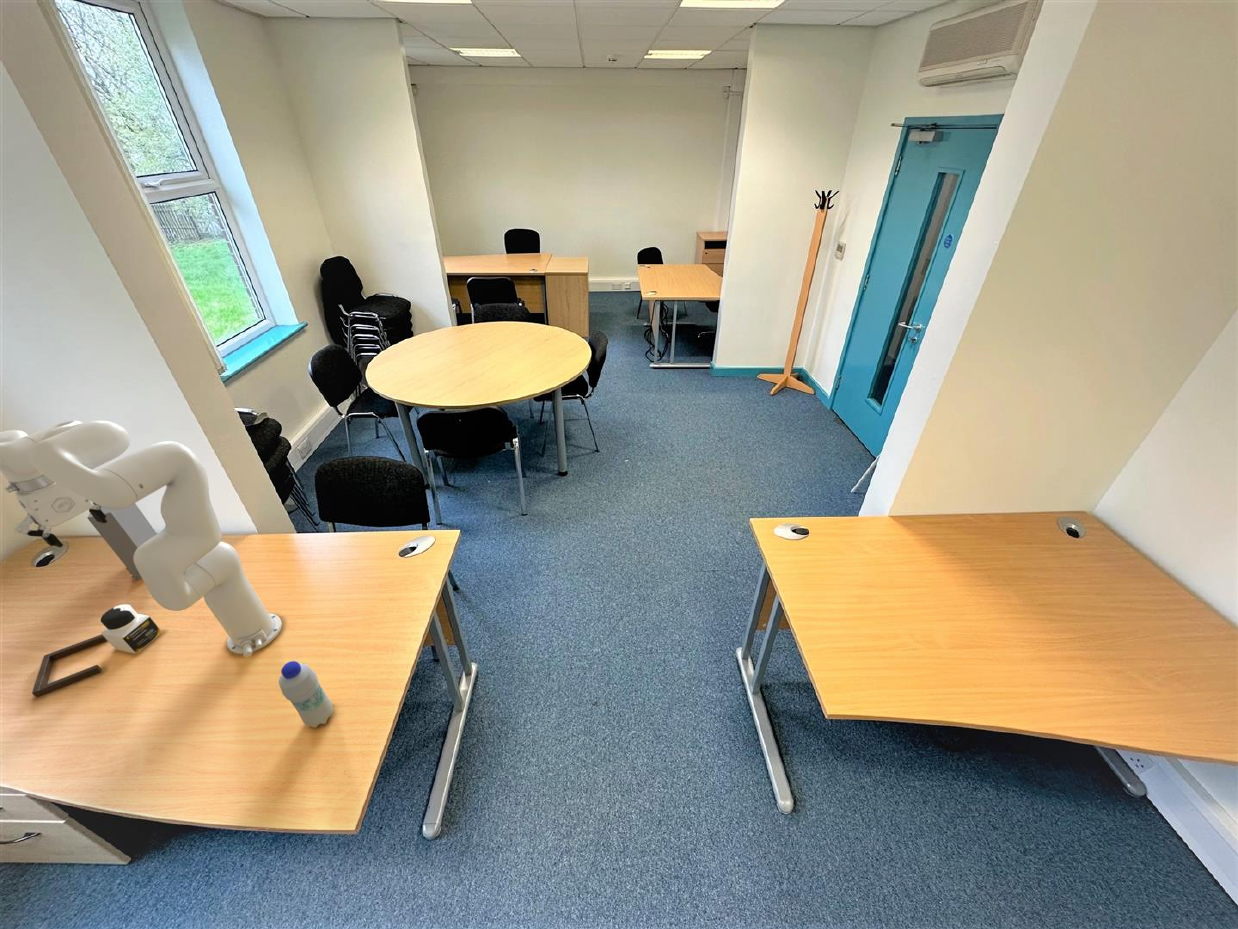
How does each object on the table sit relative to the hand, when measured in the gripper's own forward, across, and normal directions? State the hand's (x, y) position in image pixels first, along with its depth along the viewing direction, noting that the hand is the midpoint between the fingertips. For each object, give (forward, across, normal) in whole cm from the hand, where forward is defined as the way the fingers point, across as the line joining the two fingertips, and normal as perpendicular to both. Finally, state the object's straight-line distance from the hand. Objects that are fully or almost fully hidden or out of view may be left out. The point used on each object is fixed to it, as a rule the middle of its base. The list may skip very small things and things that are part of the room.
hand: (81, 533), depth 125 cm
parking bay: (+29, -18, -5) cm, 34 cm away
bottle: (+29, -10, -76) cm, 82 cm away
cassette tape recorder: (+29, +13, +17) cm, 36 cm away
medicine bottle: (+29, -8, -12) cm, 32 cm away
